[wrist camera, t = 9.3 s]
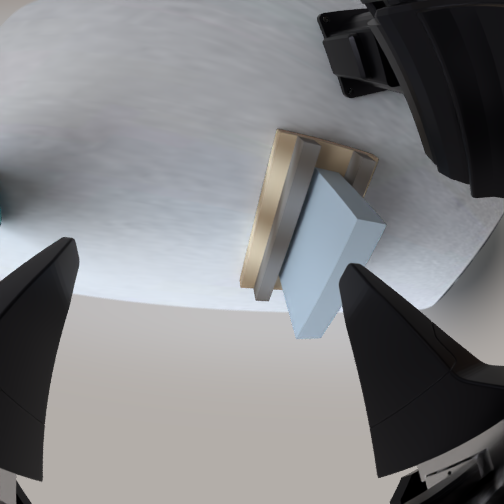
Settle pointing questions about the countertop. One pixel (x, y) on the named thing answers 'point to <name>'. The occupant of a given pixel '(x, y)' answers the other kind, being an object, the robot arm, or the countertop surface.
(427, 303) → the countertop surface
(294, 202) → the door track
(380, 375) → the robot arm
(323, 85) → the countertop surface
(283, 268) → the door panel
